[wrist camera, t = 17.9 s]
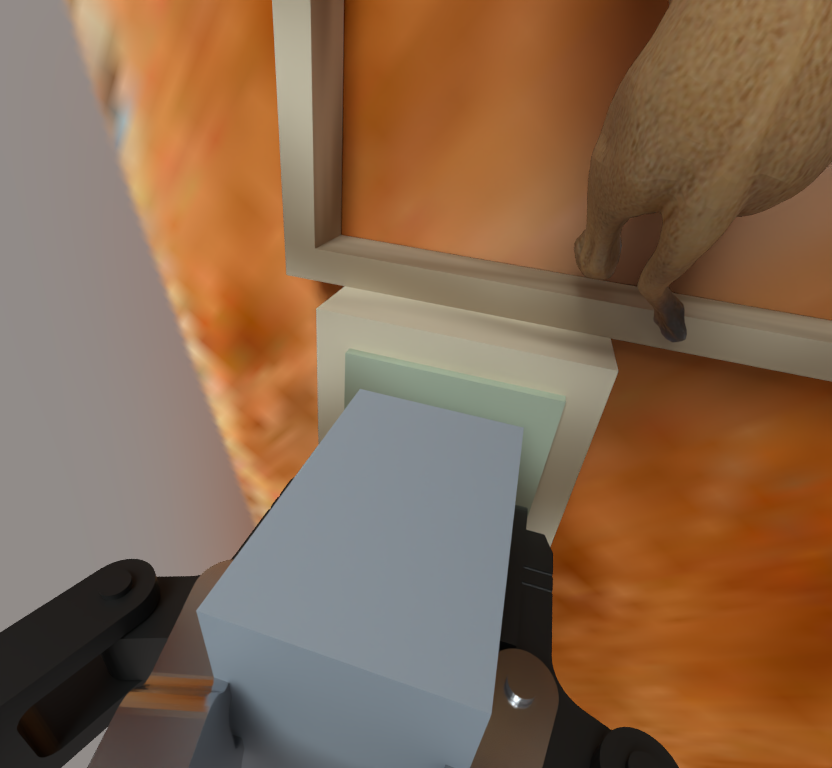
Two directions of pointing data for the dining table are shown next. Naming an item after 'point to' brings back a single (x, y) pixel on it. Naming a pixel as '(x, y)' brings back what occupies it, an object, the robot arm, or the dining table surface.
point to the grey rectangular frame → (475, 302)
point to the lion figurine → (709, 134)
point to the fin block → (372, 595)
